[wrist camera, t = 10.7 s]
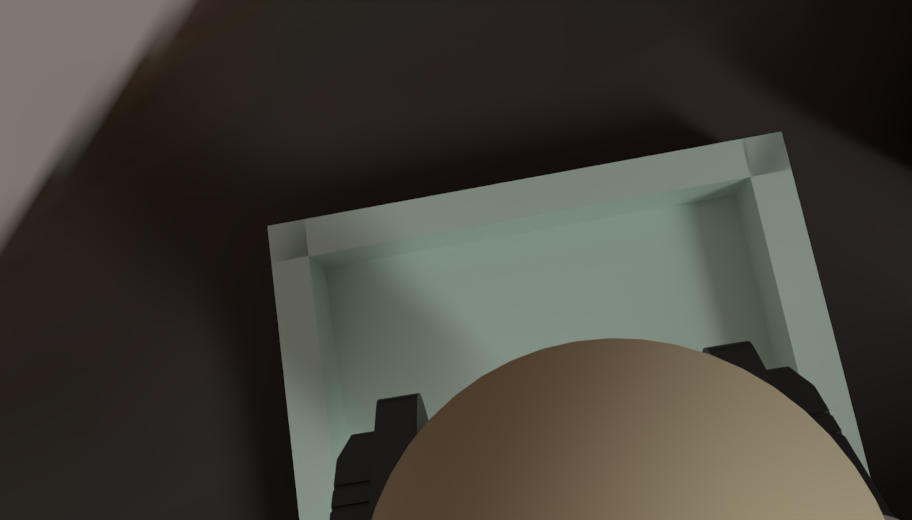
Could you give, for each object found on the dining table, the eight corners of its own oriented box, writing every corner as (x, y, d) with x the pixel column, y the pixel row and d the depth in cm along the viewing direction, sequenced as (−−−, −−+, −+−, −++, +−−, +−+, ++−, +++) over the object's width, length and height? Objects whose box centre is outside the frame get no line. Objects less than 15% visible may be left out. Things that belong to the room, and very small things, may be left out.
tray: (756, 163, 27) (781, 131, 24) (901, 748, 23) (952, 795, 20) (296, 246, 28) (267, 226, 25) (362, 814, 24) (337, 868, 21)
